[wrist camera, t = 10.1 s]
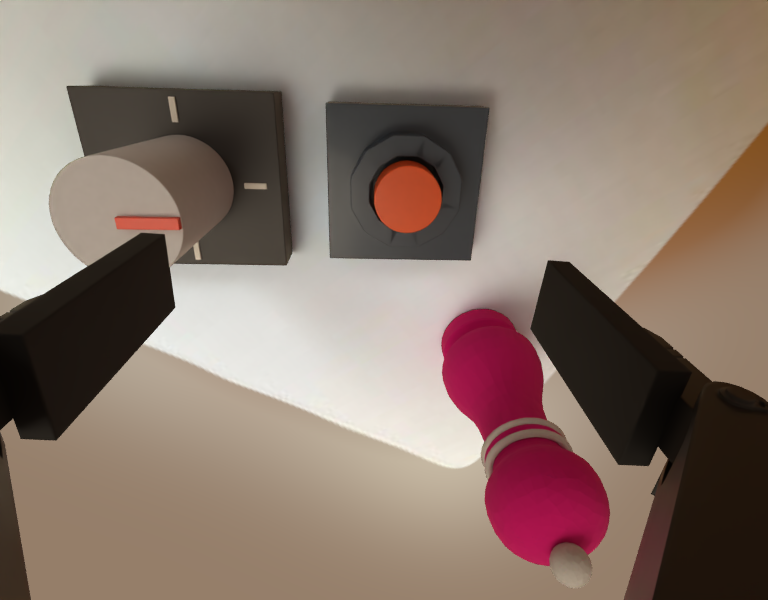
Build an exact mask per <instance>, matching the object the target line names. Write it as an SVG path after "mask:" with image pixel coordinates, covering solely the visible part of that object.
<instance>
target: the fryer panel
mask: <svg viewBox="0 0 768 600" xmlns="http://www.w3.org/2000/svg"><path fill="white" fill-rule="evenodd" d="M67 91H68V95H69V98H70V102H71V106H72V110H73V114H74V118H75V121H76V125H77V129H78V133H79V137H80V141H81V144H82V148H83V152H84V156H88V155H92V154H96V153H100V152H104V151H108V150H112V149H116V148H120V147H124V146H128V145H132V144H136V143H140V142H144V141H147V140H151V139H155V138H159V137H163V136H168V135H185V136H190V137H193V138H196V139H198V140H200V141H202V142H204V143H205V144H207V145H208V146H210V147H211V148H212V149H213V150H215V151H216V152H217V153H218V154H219V155H220V157H221V158H222V159H223V161H224V162H225V164H226V165H227V167H228V169H229V171H230V174H231V177H232V181H233V187H234V195H233V201H232V205H231V208H230V210H229V211H228V213H227V215H226V216H225V217H224V218H223V219H222V220H221V221H220V222H219V223H218V224H217V225H216V226H215V227H213V228H212V229H211V230H210V231H209V232H208V233H207V234H206V235H205V236H204V237H202V238H201V239H200V240H199V241H198V242H197V243H196V244H195V245H194V246H193V247H191V248H190V249H189V250H188V251H187V252H186V253H185V254H184V255H183V256H182V257H180V258H179V259H178V260H177V261H176V262H175V263H174V264H234V265H287V263H288V261H289V259H290V257H291V255H292V241H291V226H290V211H289V196H288V181H287V167H286V152H285V137H284V122H283V107H282V93H281V92H279V91H246V90H214V89H181V88H148V87H115V86H67Z"/></svg>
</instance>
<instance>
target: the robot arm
mask: <svg viewBox="0 0 768 600" xmlns="http://www.w3.org/2000/svg"><path fill="white" fill-rule="evenodd" d="M174 308H175V302H174V295H173V288H172V281H171V274H170V267H169V260H168V253H167V246H166V239H165V234H155V233H140V234H138V235H137V236H135V237H133V238H132V239H130V240H129V241H127V242H126V243H124V244H122V245H121V246H119V247H118V248H116V249H114V250H113V251H111V252H110V253H108V254H106V255H105V256H103V257H102V258H100V259H99V260H97V261H95V262H94V263H92V264H91V265H89V266H87V267H86V268H84V269H83V270H81V271H80V272H78V273H76V274H75V275H73V276H72V277H70V278H68V279H67V280H65V281H64V282H62V283H60V284H59V285H57V286H56V287H54V288H53V289H51V290H49V291H48V292H46V293H45V294H43V295H40V296H37V297H35V298H32V299H29V300H26V301H25V302H23V303H21V304H20V305H18V306H16V307H15V308H13V309H12V310H11V311H10V312H7V313H5V314H4V315H2V316H0V430H1V429H2V428H3V427H4V426H5V425H6V424H7V423H8V422H9V421H11V420H12V419H14V421H15V424H16V427H17V429H18V432H19V435H20V438H21V439H35V440H57V439H58V438H59V437H60V436H61V435H62V433H63V432H64V431H65V430H66V429H67V428H68V427H69V426H70V424H71V423H72V422H73V421H74V420H75V419H76V418H77V417H78V415H79V414H80V413H81V412H82V411H83V410H84V409H85V408H86V407H87V406H88V404H89V403H90V402H91V401H92V400H93V399H94V398H95V397H96V395H97V394H98V393H99V392H100V391H101V390H102V389H103V387H105V385H106V384H107V383H108V382H109V381H110V380H111V379H112V378H113V376H114V375H115V374H116V373H117V372H118V371H119V370H120V369H121V368H122V366H123V365H124V364H125V363H126V362H127V361H128V360H129V358H130V357H131V356H132V355H133V354H134V353H135V352H136V351H137V350H138V349H139V347H140V346H141V345H142V344H143V343H144V342H145V341H146V340H147V339H148V337H149V336H150V335H151V334H152V333H153V332H154V331H155V330H156V328H157V327H158V326H159V325H160V324H161V323H162V322H163V321H164V320H165V318H166V317H167V316H168V315H169V314H170V313H171V312H172V311H173V309H174ZM530 329H531V331H532V332H533V334H534V335H535V337H536V338H537V340H538V341H539V343H540V344H541V346H542V348H543V349H544V351H545V352H546V354H547V355H548V357H549V358H550V360H551V361H552V363H553V365H554V366H555V368H556V369H557V371H558V372H559V374H560V375H561V377H562V378H563V380H564V381H565V383H566V385H567V386H568V388H569V389H570V391H571V392H572V394H573V395H574V397H575V398H576V400H577V402H578V403H579V405H580V406H581V408H582V409H583V411H584V412H585V414H586V416H587V417H588V419H589V420H590V422H591V423H592V425H593V426H594V428H595V429H596V431H597V433H598V434H599V436H600V437H601V439H602V440H603V442H604V443H605V445H606V446H607V448H608V449H609V451H610V453H611V454H612V456H613V457H614V459H615V460H616V462H617V463H618V465H636V466H649V465H650V462H651V460H652V458H653V456H654V454H655V452H656V450H657V447H659V448H660V449H661V451H662V452H663V453H664V454H665V456H666V457H667V458H668V460H667V462H666V464H665V466H664V468H663V470H662V473H661V475H660V477H659V479H658V481H657V483H656V485H655V487H654V489H653V491H652V493H651V494H652V495H654V496H655V497H654V500H653V504H652V507H651V511H650V514H649V517H648V521H647V524H646V527H645V530H644V534H643V537H642V541H641V544H640V547H639V550H638V554H637V557H636V561H635V564H634V568H633V571H632V574H631V578H630V581H629V584H628V587H627V591H626V594H625V597H624V600H768V402H767V401H766V400H765V399H763V398H761V397H760V396H758V395H756V394H755V393H753V392H751V391H749V390H746V389H744V388H742V387H739V386H736V385H733V384H729V383H724V382H712V381H711V380H710V379H709V378H707V377H706V376H705V375H704V374H703V373H702V372H700V371H699V370H698V369H697V368H696V367H695V366H693V365H692V364H691V363H690V362H689V361H688V360H687V359H684V358H683V356H682V355H681V354H680V353H679V352H678V351H676V350H673V347H672V346H670V344H668V343H667V342H666V341H665V340H664V339H663V338H662V337H660V336H658V335H656V334H654V333H652V332H651V331H649V330H647V329H645V328H642V327H641V326H640V325H639V324H638V323H637V322H636V321H635V320H633V319H632V318H631V317H630V316H629V315H628V314H627V313H626V312H625V311H623V310H622V309H621V308H620V307H619V306H618V305H617V304H616V303H614V302H613V301H612V300H611V299H610V298H609V297H608V296H607V295H606V294H604V293H603V292H602V291H601V290H600V289H599V288H598V287H597V286H596V285H594V284H593V283H592V282H591V281H590V280H589V279H588V278H587V277H585V276H584V275H583V274H582V273H581V272H580V271H579V270H578V269H577V268H575V267H574V266H573V265H572V264H571V263H570V262H563V261H548V262H547V266H546V270H545V274H544V278H543V282H542V286H541V289H540V293H539V297H538V301H537V305H536V309H535V313H534V317H533V320H532V324H531V328H530ZM0 600H31V597H30V591H29V586H28V581H27V574H26V569H25V562H24V556H23V550H22V544H21V538H20V532H19V526H18V520H17V514H16V508H15V503H14V497H13V491H12V485H11V479H10V473H9V467H8V461H7V455H6V449H5V444H4V441H3V438H2V436H1V433H0Z"/></svg>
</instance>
